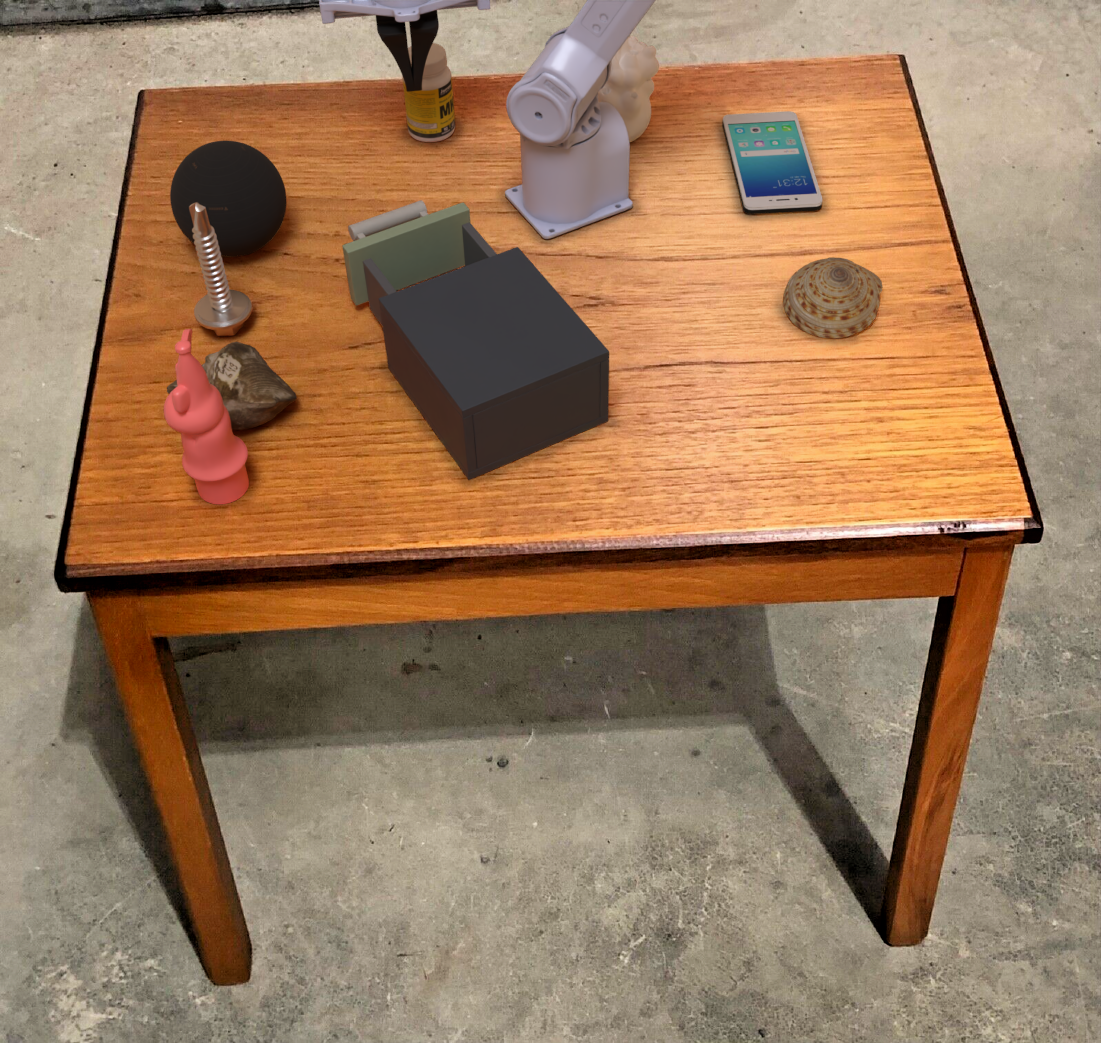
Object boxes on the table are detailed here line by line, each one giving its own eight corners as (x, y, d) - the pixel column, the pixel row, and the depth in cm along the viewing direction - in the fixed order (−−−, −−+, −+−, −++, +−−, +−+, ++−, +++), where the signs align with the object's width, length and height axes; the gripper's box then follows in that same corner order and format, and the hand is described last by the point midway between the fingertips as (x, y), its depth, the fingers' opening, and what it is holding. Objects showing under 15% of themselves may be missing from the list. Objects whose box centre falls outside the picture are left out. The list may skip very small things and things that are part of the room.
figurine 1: (191, 462, 113) (146, 318, 101) (257, 458, 113) (219, 313, 101) (186, 512, 109) (139, 368, 98) (253, 506, 110) (214, 362, 98)
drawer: (330, 270, 126) (321, 217, 122) (446, 229, 130) (440, 175, 125) (419, 392, 116) (412, 339, 112) (542, 344, 119) (540, 290, 115)
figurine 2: (669, 144, 139) (674, 32, 130) (612, 168, 137) (614, 55, 127) (626, 111, 143) (629, -1, 134) (571, 133, 140) (570, 21, 131)
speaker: (219, 295, 126) (195, 201, 118) (163, 240, 131) (137, 147, 123) (315, 248, 130) (298, 155, 122) (258, 196, 135) (238, 104, 127)
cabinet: (388, 368, 119) (378, 298, 113) (521, 316, 123) (517, 246, 117) (468, 480, 111) (462, 410, 105) (608, 421, 115) (609, 351, 109)
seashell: (897, 262, 123) (879, 285, 117) (880, 323, 126) (862, 350, 119) (805, 238, 126) (783, 260, 119) (791, 299, 128) (768, 323, 122)
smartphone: (796, 110, 141) (825, 203, 131) (795, 117, 141) (824, 211, 131) (720, 114, 140) (744, 208, 131) (720, 121, 141) (743, 215, 131)
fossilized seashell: (143, 409, 113) (253, 460, 112) (162, 332, 111) (275, 383, 109) (192, 390, 120) (296, 438, 118) (212, 317, 118) (318, 365, 116)
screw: (202, 309, 125) (258, 307, 125) (195, 347, 121) (252, 344, 121) (169, 185, 115) (230, 183, 115) (160, 223, 111) (223, 220, 112)
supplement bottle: (449, 146, 139) (442, 69, 133) (402, 141, 140) (393, 64, 134) (461, 118, 142) (455, 41, 136) (415, 113, 143) (407, 37, 137)
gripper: (312, -28, 116) (334, 117, 127) (490, -43, 117) (498, 102, 128) (310, -70, 121) (332, 73, 131) (481, -84, 122) (489, 59, 132)
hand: (413, 85), depth 130 cm, fingers closed
